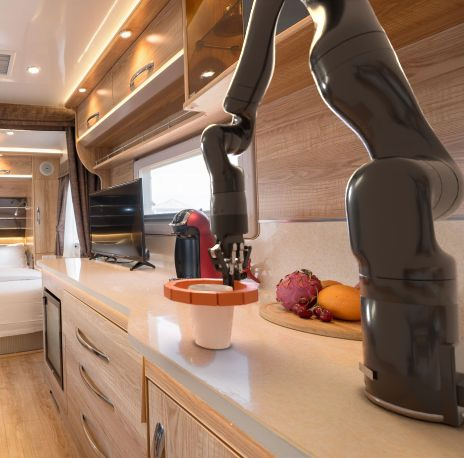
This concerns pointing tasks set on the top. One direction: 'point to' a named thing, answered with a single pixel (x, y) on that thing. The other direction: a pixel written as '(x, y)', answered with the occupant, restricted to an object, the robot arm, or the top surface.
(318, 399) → the top surface
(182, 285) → the ring
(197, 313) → the cup
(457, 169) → the robot arm
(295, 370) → the top surface
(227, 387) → the top surface
